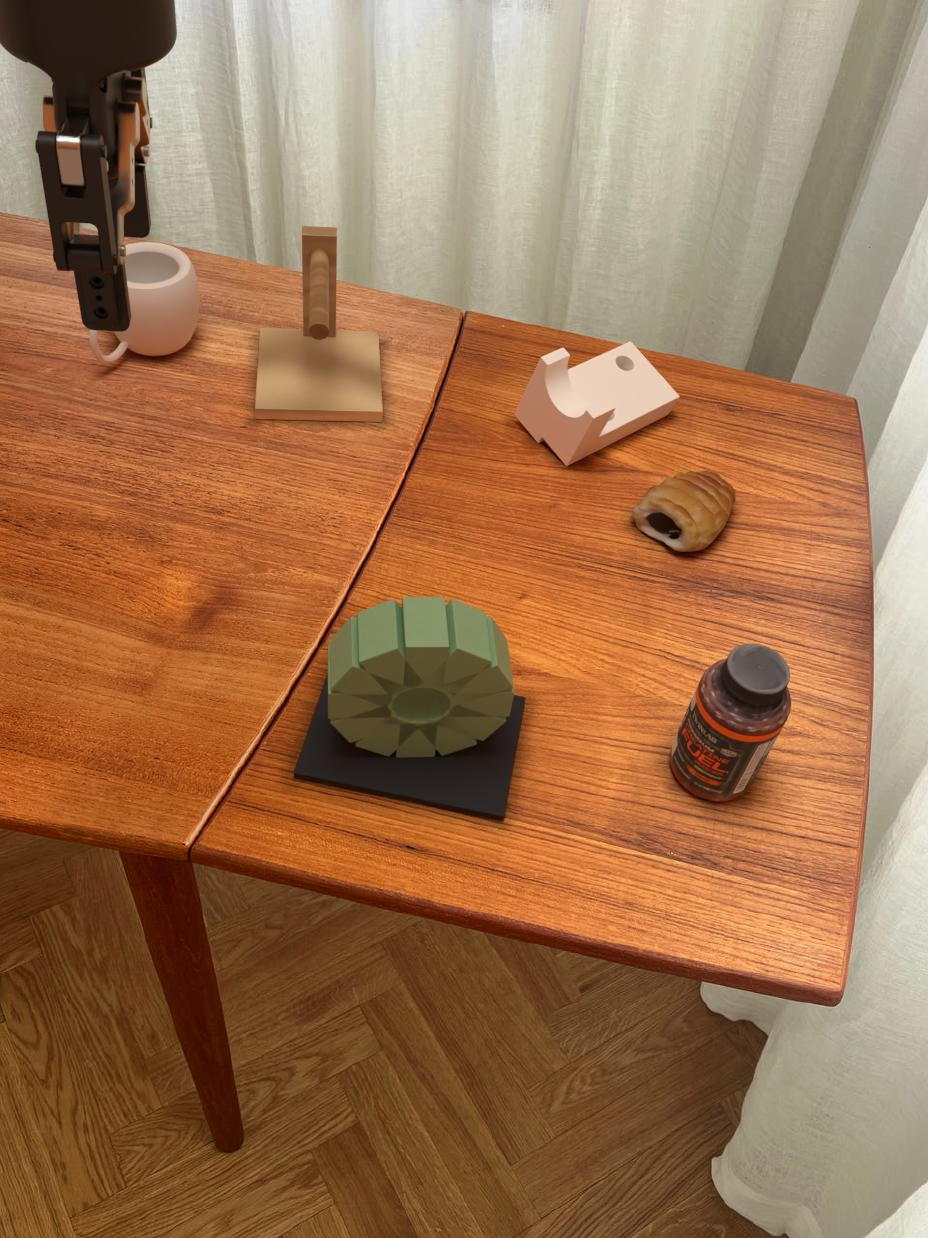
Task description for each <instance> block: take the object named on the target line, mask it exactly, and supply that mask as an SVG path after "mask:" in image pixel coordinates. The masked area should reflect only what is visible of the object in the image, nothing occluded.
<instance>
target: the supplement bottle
mask: <svg viewBox="0 0 928 1238" xmlns="http://www.w3.org/2000/svg"><path fill="white" fill-rule="evenodd" d="M790 680H791V669H790V667H789V664H788V663H787V661H786V659H785V658H784V657H783V656H782V655H781V654H780V653H779V652H777V651H776V650H775V649H773V648H771V647H769V646H766V645H764V644H760V643H743V644H740V645H737V646H736V647H734V648H733V649H732V650H730V652H729V653H728V655H727V657H726V658H723V659H720V660H718V661H715V662H714V663H712V664H711V665H710V666H709V667H708V668H707V669H706V670H705V671H704V672H703V674H702V676H701V678H700V679H699V681H698V684H697V686H696V689H695V690H694V693H693V695H692V698H691V700H690V702H689V705H688V707H687V709H686V712H685V713H684V716H683V719H682V721H681V723H680V726H679V728H678V729H677V732H676V735H675V737H674V739H673V742H672V744H671V748H670V752H669V766H670V768H671V770H672V771H671V772H672V773H673V775H674V777H675V779H676V780H677V781H678V783H679V784H680V785H681V786H682V787H683V788H684V789H686V791H688V792H689V793H691V794H693V795H694V796H695V797H698V798H700V799H704V800H707V801H711V802H717V803H720V802H729V801H732V800H735V799H737V798H739V797H741V796H743V795H744V794H745V793H746V792H747V791H748V790H749V789H750V787H751V786H752V784H753V783H754V781H755V779H756V777H757V775H758V774H759V773H760V770H761V768H762V766H763V764H764V763H765V761H766V759H767V757H768V756H769V754H770V752H771V751H772V748H773V745H775V743H776V741H777V739H778V737H779V736H780V733H781V731H782V730H783V728H784V726H785V724H786V722H787V721H788V718H789V716H790V713H791V710H792V697H791V693H790V690H789V688H788V686H789V683H790Z"/></svg>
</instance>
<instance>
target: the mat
mask: <svg viewBox="0 0 928 1238" xmlns="http://www.w3.org/2000/svg"><path fill="white" fill-rule="evenodd" d="M525 704H526V697H525V696H522V695H516V694H514V697H513V702H512V707H511V711H510V716H509V717H506V722H505V723H504V724H502V725H501V726H500V727H499V728H498V729H497V730H495V731H494V732H493V733H492V734H491V735H490V736H488V737H487V738H486V739H485V740H484V741H481V740H478V739H476V740H477V745H474V746H471V747H468V748H465V749H462V750H458V751H455V752H452V753H449V754H446V755H443V756H442V755H441V754H440V753H439V752H438V751H437V750H435V756H434V757H403V758H397V757H396V750H395V751H394V752H393V753H392V754H391V755H390V756H385V755H382V754H379V753H376V752H372V751H369V750H366V749H363V748H360V747H357V746H356V741H354V742H351V743H350V742H349V741H348V740H347V739H346V738H345V737H344V736H343V735H342V734H341V733H340V732H339V731H338V730H337V729H336V728H335V727H334V726H333V725H332V724H331V723H330V719H329V718H328V672H327V674H326V676H325V680H324V682H323V685H322V687H321V690H320V694H319V697H318V700H317V703H316V705H315V709H314V712H313V714H312V717H311V720H310V724H309V727H308V728H307V732H306V735H305V738H304V740H303V744H302V747H301V750H300V753H299V756H298V758H297V761H296V765H295V767H294V770H293V778H294V779H298V780H299V779H300V780H303V781H309V782H312V783H313V782H314V783H319V784H323V785H328V786H333V787H338V788H343V789H348V790H352V791H356V792H362V793H367V794H371V795H377V796H381V797H386V798H390V799H395V800H400V801H405V802H409V803H413V804H414V803H415V804H420V805H424V806H429V807H433V808H438V809H443V810H448V811H453V812H457V813H463V814H467V815H472V816H478V817H481V818H486V819H491V820H496V821H500V822H502V821H504V818H505V815H506V814H505V813H506V807H507V801H508V796H509V792H510V785H511V780H512V774H513V768H514V763H515V757H516V752H517V748H518V747H517V746H518V741H519V736H520V730H521V725H522V719H523V714H524V709H525Z"/></svg>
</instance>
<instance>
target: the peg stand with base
mask: <svg viewBox="0 0 928 1238" xmlns="http://www.w3.org/2000/svg"><path fill="white" fill-rule="evenodd" d="M301 258H302V259H301V267H302V268H301V269H302V273H301V275H302V279H301V280H302V326H303V327H302V328H290V327H287V328H286V327H259V337H258V338H259V340H258V355H257V368H256V369H257V371H256V384H255V385H256V387H255V401H254V417H255V420H275V421H276V420H281V421H317V422H319V421H324V422H366V423H367V422H368V423H383V419H384V418H383V416H384V415H383V414H384V409H383V408H384V407H383V389H382V371H381V369H382V368H381V352H380V335H379V331H376V330H348V329H337V282H338V281H337V278H338V277H337V275H338V273H337V272H338V269H337V268H338V267H337V266H338V228H337V227H335V226H315V225H314V226H313V225H312V226H311V225H302V226H301Z"/></svg>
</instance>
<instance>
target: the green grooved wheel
mask: <svg viewBox="0 0 928 1238" xmlns="http://www.w3.org/2000/svg"><path fill="white" fill-rule="evenodd" d="M401 599H402V600H401V605H400V604H399V602H398V601H397V600H396V599H395V598H392V599H390V600H387V601H384V602H381V603H379V604H376V605H373V606H370V607H368V608H366V609H363V610H360V611H358V612H357V617H355V616H353V615H351V616H350V617H349V618H348V619H347V620H346V622H344V623H343V625H342V626H341V627H340V628H339V629H338V630H337V631H336V633H335V634H333V636H332V637H331V638H330V643H328V644H327V673H328V718H329V719H330V723H331V724H332V725H333V726H334V727H335V728H336V729H337V730H338V731H339V732H340V733H341V734H342V735H343V736H344V737H345V738H346V739H347V740H348V741H349V742H350V743H351V742H354V741H356V746H357V747H360V748H363V749H366V750H369V751H372V752H376V753H379V754H382V755H385V756H390V755H391V754H392V753H393V752H394V751H395V750H396V757H397V758H403V757H434V756H435V750H437V751H438V752H439V753H440V754H441V755H442V756H443V755H446V754H449V753H452V752H455V751H458V750H462V749H465V748H468V747H471V746H474V745H477V740H476V739H478V740H481V741H484V740H485V739H486V738H487V737H488V736H490V735H491V734H492V733H493V732H494V731H495V730H497V729H498V728H499V727H500V726H501V725H502V724H504V723H505V722H506V717H509V716H510V711H511V707H512V702H513V697H514V695H515V686H514V685H515V684H514V679H513V672H512V665H511V663H512V662H511V658H510V657H511V656H510V650H509V644H508V639H507V637H506V636H505V634H504V633H503V631H502V630H501V629H500V627H499V626H498V624H497V623H496V621H495V620H494V619H493V617H492V616H488V617H487V613H486V611H484V610H481V609H478V608H476V607H474V606H471V605H469V604H467V603H464V602H462V601H459V600H458V599H454V598H451V599H450V600H449V601H448V602H447V603H446V598H445V596H403V597H402V598H401Z"/></svg>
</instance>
